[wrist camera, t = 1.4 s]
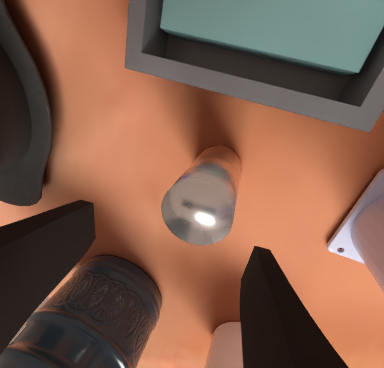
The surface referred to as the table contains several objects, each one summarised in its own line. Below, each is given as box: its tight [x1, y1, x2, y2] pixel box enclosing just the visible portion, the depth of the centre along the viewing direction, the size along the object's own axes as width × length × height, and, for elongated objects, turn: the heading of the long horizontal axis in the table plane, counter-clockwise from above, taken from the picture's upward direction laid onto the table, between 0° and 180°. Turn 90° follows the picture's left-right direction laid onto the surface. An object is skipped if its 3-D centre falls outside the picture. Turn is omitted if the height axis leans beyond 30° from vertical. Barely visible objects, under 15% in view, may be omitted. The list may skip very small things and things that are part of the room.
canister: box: [0, 255, 162, 368], centre depth 22 cm, size 13×13×18 cm
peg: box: [161, 145, 242, 245], centre depth 15 cm, size 4×4×8 cm
